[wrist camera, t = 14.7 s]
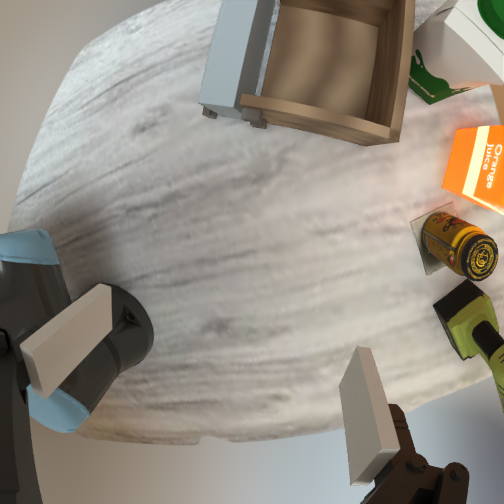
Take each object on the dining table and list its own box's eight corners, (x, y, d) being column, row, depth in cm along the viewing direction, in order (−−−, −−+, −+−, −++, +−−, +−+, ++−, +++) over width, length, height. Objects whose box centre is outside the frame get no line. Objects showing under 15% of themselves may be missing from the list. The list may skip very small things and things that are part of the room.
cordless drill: (494, 357, 42) (556, 447, 18) (466, 379, 44) (518, 477, 20) (461, 265, 38) (566, 357, 15) (426, 293, 40) (511, 407, 17)
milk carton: (458, 72, 30) (546, 37, 11) (430, 115, 33) (523, 94, 14) (410, 30, 30) (477, -35, 11) (380, 71, 32) (444, 11, 13)
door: (214, 115, 37) (186, 101, 27) (241, -1, 32) (224, -42, 21) (249, 120, 37) (233, 107, 26) (275, 2, 31) (268, -40, 21)
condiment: (451, 201, 36) (499, 219, 25) (465, 254, 38) (509, 285, 26) (409, 221, 38) (449, 246, 26) (426, 275, 40) (462, 313, 28)
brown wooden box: (209, 121, 37) (171, 107, 25) (238, -5, 31) (217, -55, 19) (364, 153, 36) (396, 152, 24) (384, 23, 30) (415, -20, 18)
